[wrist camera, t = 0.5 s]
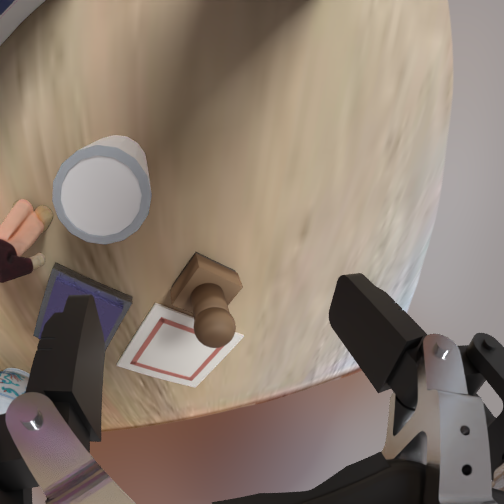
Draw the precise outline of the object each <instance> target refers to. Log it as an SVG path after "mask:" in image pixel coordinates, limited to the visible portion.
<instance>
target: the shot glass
mask: <svg viewBox="0 0 504 504" xmlns="http://www.w3.org/2000/svg"><path fill="white" fill-rule="evenodd" d="M151 197H152V193H151V186H150V179H149V172H148V165H147V160H146V155H145V153H144V151H143V150H142V148H141V147H140V145H139V144H138V143H137V142H135V141H134V140H132V139H130V138H129V137H127V136H120V135H112V136H108V137H104V138H101V139H99V140H97V141H95V142H93V143H91V144H89V145H87V146H85V147H83V148H81V149H79V150H78V151H76V152H75V153H74V154H73V155H72V156H70V157H69V158H68V159H67V160H66V161H65V162H63V163H62V165H61V167H60V169H59V171H58V173H57V175H56V177H55V179H54V181H53V198H52V201H53V204H54V207H55V210H56V213H57V216H58V219H59V220H60V221H61V222H62V223H63V225H64V226H65V227H66V228H67V229H68V231H69V232H70V233H71V234H73V235H75V236H77V237H79V238H81V239H82V240H84V241H86V242H91V243H98V244H109V243H114V242H118V241H122V240H124V239H126V238H127V237H129V236H130V235H131V234H133V233H134V232H136V231H137V230H138V229H139V228H140V226H141V225H142V223H143V222H144V220H145V219H146V217H147V215H148V213H149V208H150V202H151Z"/></svg>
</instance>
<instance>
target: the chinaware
mask: <svg viewBox="0 0 504 504" xmlns="http://www.w3.org/2000/svg"><path fill="white" fill-rule="evenodd" d="M29 376H30V374H29V373H27V372H25V371H23V370H21V369H17V368H6V369H5V370H4V371H1V372H0V415H1V414H4V413H6V411H7V409H8V407H9V405H10V403H11V402H12V401H13V400H14V399H15V398H16V397H18V396H19V395H22V394H24V393H25V392H26V388H27V384H28V380H29Z"/></svg>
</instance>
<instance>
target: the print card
mask: <svg viewBox="0 0 504 504" xmlns="http://www.w3.org/2000/svg"><path fill="white" fill-rule="evenodd" d="M193 326H194V317H192V316H189V315H187V314H184V313H182V312H179V311H176V310H174V309H171V308H169V307H166V306H163V305H161V304H158V303H156V302H155V304H154V305H153V307H152V308H151V310H150V311H149V313H148V314H147V316H146V318H145V319H144V321H143V322H142V324H141V325H140V327H139V329H138V330H137V332H136V333H135V335H134V337H133V338H132V340H131V341H130V343H129V345H128V346H127V348H126V349H125V351H124V353H123V354H122V356H121V358H120V359H119V361H118V362H117V366H119V367H122V368H125V369H128V370H132V371H135V372H138V373H142V374H145V375H148V376H152V377H156V378H159V379H163V380H167V381H171V382H175V383H179V384H183V385H187V386H191V387H196V386H197V385H198V384H199V383H200V382H201V381H202V380H203V379H204V378H205V377H206V376H207V375H208V374H209V373H210V372H211V371H212V370H213V369H214V368H215V367H216V366H217V365H218V364H219V363H220V362H221V360H222V359H223V358H224V357H225V356H226V355H227V354H228V353H229V352H230V351H231V350H232V349H233V348H234V347H235V346H236V344H237V343H238V342H239V341H240V340H241V339H242V338H243V337H244V335H243V334H240V333H237V332H235V334H234V337H233V338H232V340H231V341H230V342H229V343H228V344H227V345H225V346H223V347H220V348H210V347H207V346H205V345H203V344H202V343H201V342H199V340H198V339H197V338H196V336H195V333H194V327H193Z"/></svg>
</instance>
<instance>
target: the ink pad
mask: <svg viewBox="0 0 504 504" xmlns="http://www.w3.org/2000/svg"><path fill="white" fill-rule="evenodd" d="M88 294H92V295H93V297H94V300H95V304H96V308H97V312H98V316H99V320H100V323H101V327H102V331H103V335H104V342H105V351H106V349H107V347H108V345H109V343H110V341H111V339H112V338H113V336H114V334H115V332H116V330H117V329H118V327H119V325H120V323H121V322H122V320H123V318H124V316H125V315H126V313H127V311H128V309H129V308H130V306H131V304H132V297H131V296H129V295H126V294H124V293H122V292H119V291H117V290H115V289H112V288H110V287H108V286H105V285H103V284H101V283H99V282H96V281H94V280H92V279H90V278H87V277H85V276H83V275H81V274H79V273H77V272H74V271H72V270H70V269H68V268H66V267H64V266H62V265H60V264H58V263H56V262H55V264H54V267H53V269H52V272H51V275H50V278H49V281H48V284H47V288H46V291H45V294H44V297H43V301H42V304H41V308H40V312H39V315H38V319H37V323H36V327H35V331H34V335H33V336H35V337H37V338H39V339H41V334H42V331H43V328H44V325H45V323H46V322H47V321H48V320H49V319H50V317H51V316H52V315H53V314H54V313H58V312H63V310H64V307H65V304H66V301H67V298H68V296H69V295H88Z"/></svg>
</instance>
